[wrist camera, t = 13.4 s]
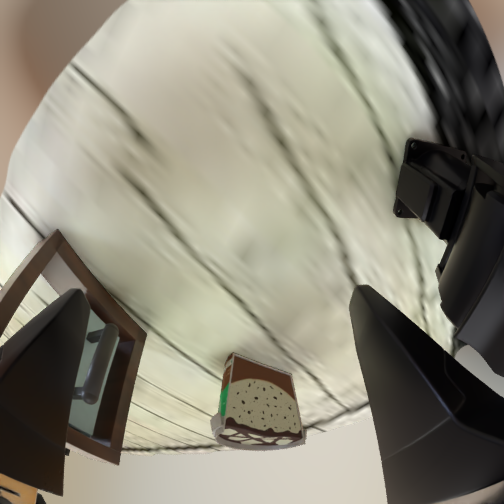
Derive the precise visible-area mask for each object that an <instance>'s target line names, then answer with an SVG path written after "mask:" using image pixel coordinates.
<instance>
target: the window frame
mask: <svg viewBox="0 0 504 504" xmlns="http://www.w3.org/2000/svg"><path fill="white" fill-rule="evenodd" d="M40 274H42V275H43V277H44V278H45V279H46V280H47V281H48V283H49V284H50V285H51V286H52V287H53V289H54V290H55V291H56V292H57V293H58V294H59V295H60V296H61V295H62V294H64V293H65V292H66V291H68V290H69V289H71V288H80V289H81V290H82V291H83V292H84V294H85V296H86V298H87V300H88V302H89V304H90V309H91V310H92V311H93V312H94V313H95V314H96V315H97V316H98V317H99V318H100V319H101V320H102V321H103V322H104V323H105V324H109V323H113V324H115V325H116V326H117V327H118V329H119V334H118V337H119V338H120V339H119V342H118V345H117V348H116V351H115V354H114V357H113V360H112V363H111V367H110V370H109V373H108V377H107V380H106V384H105V387H104V391H103V394H102V398H101V402H100V406H99V410H98V414H97V418H96V422H95V426H94V431H93V435H92V436H90V435H87V434H85V433H83V432H81V431H79V430H78V429H76V428H74V427H72V426H71V425H69V424H68V431H67V439H66V448H68V449H70V450H72V451H74V452H76V453H78V454H80V455H82V456H85V457H87V458H89V459H92V460H97V461H100V462H104V463H109V464H114V465H119V462H120V455H121V450H122V444H123V438H124V433H125V427H126V422H127V417H128V412H129V407H130V402H131V398H132V393H133V389H134V384H135V380H136V376H137V372H138V367H139V363H140V359H141V356H142V352H143V348H144V344H145V340H146V337H147V334H146V333H145V332H144V331H143V330H142V329H141V328H140V327H139V326H138V325H137V324H136V323H135V322H134V321H133V320H132V319H131V318H130V317H129V316H128V315H127V313H126V312H125V311H124V310H123V309H122V308H121V307H120V306H119V305H118V304H117V303H116V302H115V300H114V299H113V298H112V297H111V296H110V295H109V294H108V293H107V291H106V290H105V289H104V288H103V287H102V286H101V284H100V283H99V282H98V281H97V280H96V278H95V277H94V276H93V275H92V274H91V272H90V271H89V270H88V269H87V267H86V266H85V265H84V264H83V262H82V261H81V260H80V259H79V257H78V256H77V255H76V253H75V252H74V251H73V249H72V248H71V247H70V245H69V244H68V243H67V241H66V240H65V238H64V237H63V236H62V234H61V233H60V231H59V230H58V229H57V230H55V231H54V232H53V233H51V234H50V235H49V236H47V237H46V238H45V239H43V240H42V241H41V242H40V243H38V244H37V245H36V246H35V247H34V248H33V249H32V250H31V252H30V253H29V254H28V255H27V256H26V258H25V259H24V260H23V261H22V263H21V264H20V265H19V266H18V268H17V269H16V270H15V271H14V273H13V274H12V275H11V277H10V278H9V279H8V281H7V282H6V283H5V285H4V286H3V288H2V289H1V290H0V337H1V336H2V334H3V332H4V330H5V328H6V327H7V325H8V323H9V321H10V320H11V318H12V316H13V315H14V313H15V311H16V310H17V308H18V306H19V305H20V303H21V302H22V300H23V299H24V297H25V295H26V294H27V292H28V291H29V289H30V288H31V287H32V285H33V284H34V282H35V281H36V279H37V278H38V276H39V275H40Z"/></svg>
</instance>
